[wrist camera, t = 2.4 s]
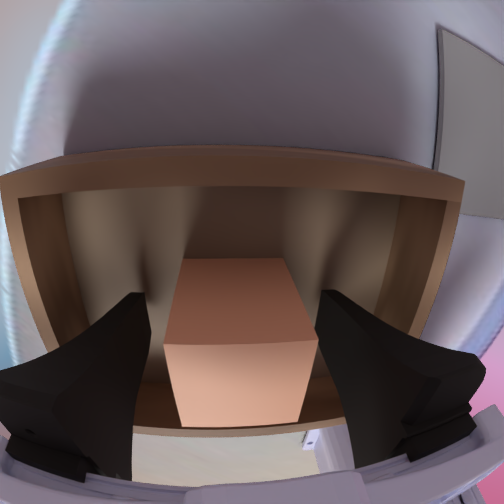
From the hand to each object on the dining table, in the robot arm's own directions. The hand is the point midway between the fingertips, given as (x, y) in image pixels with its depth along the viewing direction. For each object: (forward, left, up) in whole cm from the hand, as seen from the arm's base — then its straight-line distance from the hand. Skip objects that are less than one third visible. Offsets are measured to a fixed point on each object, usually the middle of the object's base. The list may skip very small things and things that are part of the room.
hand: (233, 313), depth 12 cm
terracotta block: (0, 0, -1) cm, 1 cm away
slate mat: (+9, -15, -2) cm, 18 cm away
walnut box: (0, 0, -2) cm, 2 cm away
